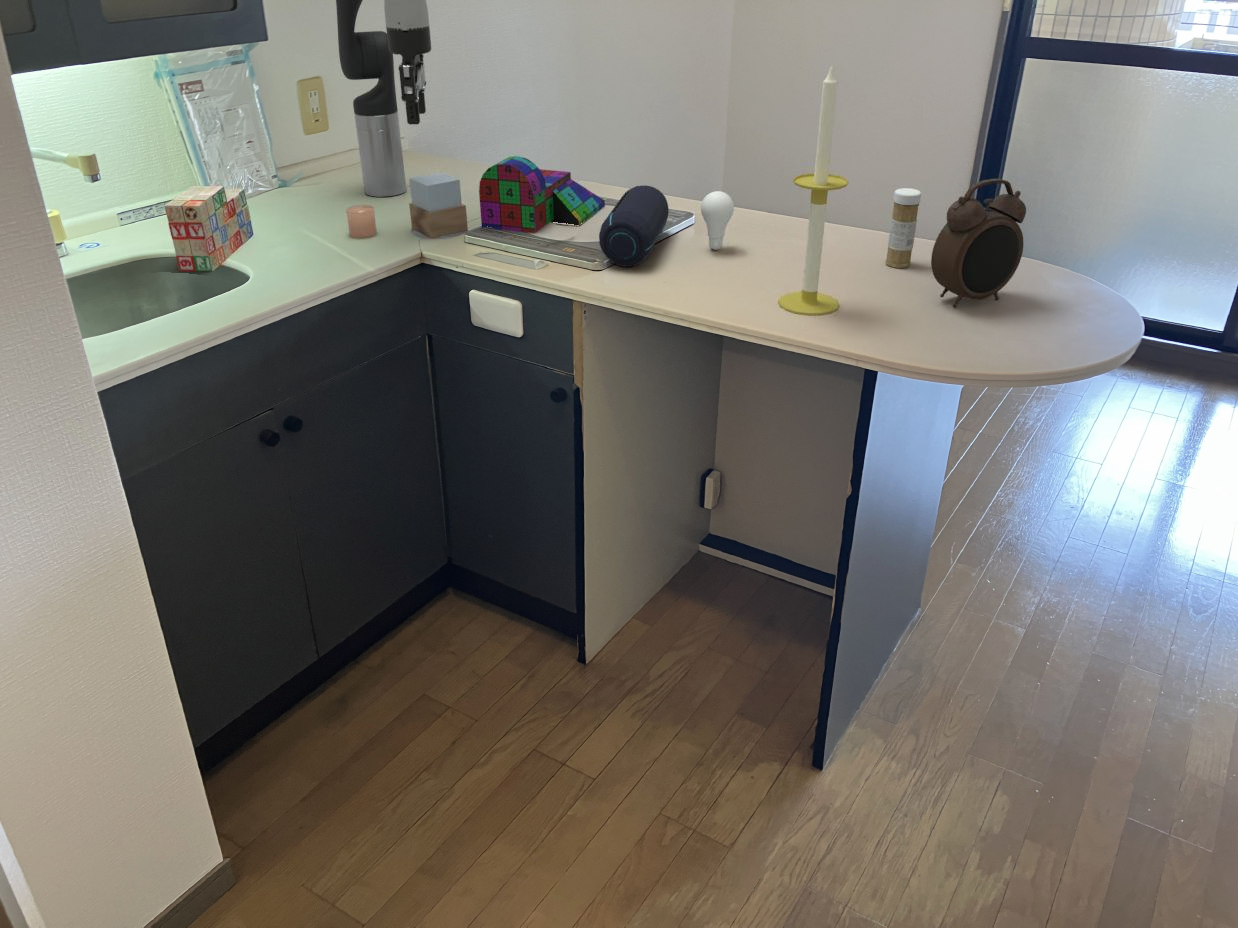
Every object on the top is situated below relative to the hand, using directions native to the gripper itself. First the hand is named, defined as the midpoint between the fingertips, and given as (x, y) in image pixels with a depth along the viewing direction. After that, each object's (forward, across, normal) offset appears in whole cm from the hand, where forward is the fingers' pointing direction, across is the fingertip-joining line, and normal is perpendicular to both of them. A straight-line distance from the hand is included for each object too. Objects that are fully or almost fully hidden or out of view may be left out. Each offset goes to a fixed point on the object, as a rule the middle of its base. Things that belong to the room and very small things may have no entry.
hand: (417, 118), depth 186 cm
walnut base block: (+22, -2, +2) cm, 22 cm away
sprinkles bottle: (+22, +20, +87) cm, 92 cm away
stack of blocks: (+23, +6, -39) cm, 46 cm away
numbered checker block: (+23, -12, +23) cm, 34 cm away
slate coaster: (+23, -2, +2) cm, 23 cm away
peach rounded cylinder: (+23, 0, -13) cm, 26 cm away
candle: (+22, +38, +67) cm, 80 cm away
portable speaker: (+23, +9, +40) cm, 47 cm away
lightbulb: (+22, +10, +55) cm, 60 cm away
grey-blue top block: (+17, -2, +2) cm, 17 cm away
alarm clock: (+22, +38, +94) cm, 104 cm away
